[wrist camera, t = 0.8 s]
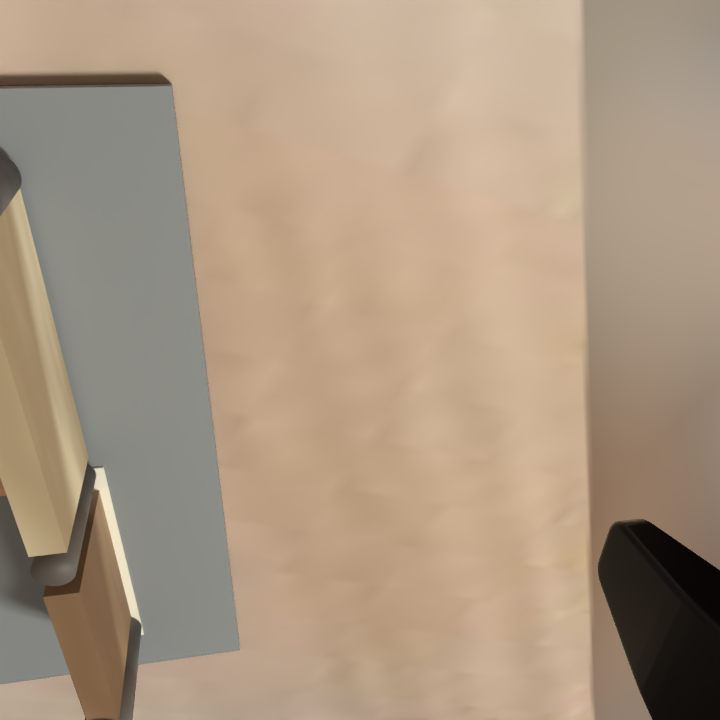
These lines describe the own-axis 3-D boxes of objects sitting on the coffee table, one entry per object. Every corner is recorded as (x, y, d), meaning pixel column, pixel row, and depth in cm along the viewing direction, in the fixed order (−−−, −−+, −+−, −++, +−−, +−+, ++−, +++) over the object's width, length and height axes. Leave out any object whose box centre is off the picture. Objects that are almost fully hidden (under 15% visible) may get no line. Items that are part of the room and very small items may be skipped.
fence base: (103, 642, 28) (86, 758, 24) (59, 493, 23) (29, 607, 19) (144, 636, 28) (133, 750, 24) (108, 488, 24) (88, 599, 20)
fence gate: (61, 490, 23) (35, 588, 20) (-38, 152, 17) (-100, 213, 13) (99, 486, 23) (80, 582, 20) (14, 151, 17) (-34, 210, 14)
